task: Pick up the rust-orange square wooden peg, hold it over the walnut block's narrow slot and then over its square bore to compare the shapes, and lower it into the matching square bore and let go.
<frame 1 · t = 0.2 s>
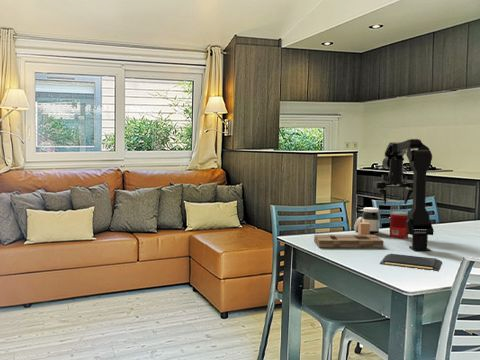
hand: (395, 204, 216), 14 cm above the table, tool pointing down, fingers open, 9 cm apart
canned food: (398, 237, 214), on the table
dark grey flat slab: (410, 265, 170), on the table
spread jar: (366, 232, 224), on the table
bore block: (347, 244, 198), on the table
square peg: (363, 238, 210), on the table
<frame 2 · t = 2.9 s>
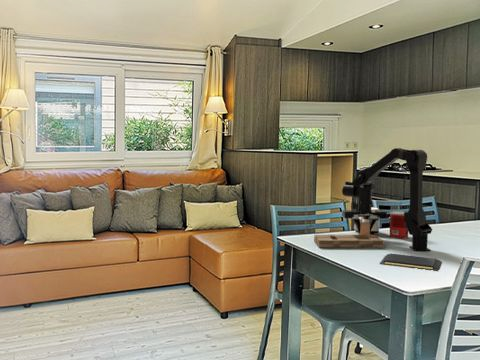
hand: (363, 233, 209), 2 cm above the table, tool pointing down, fingers closed on square peg, 4 cm apart
square peg: (363, 238, 210), on the table, touching gripper
everything else where it was.
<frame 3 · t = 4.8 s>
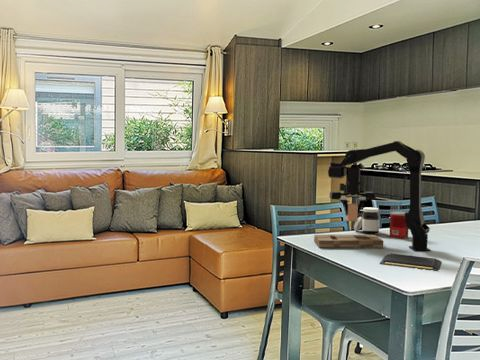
hand: (351, 215, 204), 11 cm above the table, tool pointing down, fingers closed on square peg, 4 cm apart
square peg: (351, 220, 204), point 9 cm above the table, touching gripper
everything else where it was.
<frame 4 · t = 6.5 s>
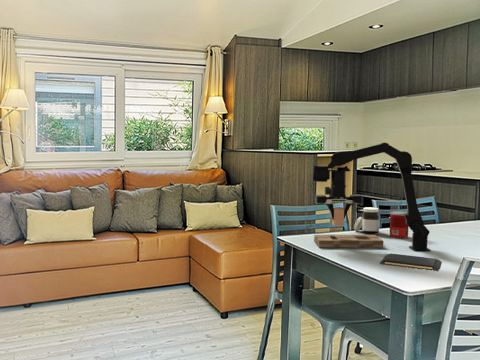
hand: (338, 219, 196), 11 cm above the table, tool pointing down, fingers closed on square peg, 4 cm apart
square peg: (337, 224, 197), point 8 cm above the table, touching gripper
everything else where it was.
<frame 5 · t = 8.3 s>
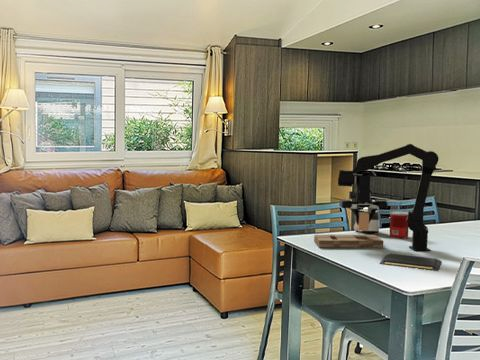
hand: (362, 224, 197), 9 cm above the table, tool pointing down, fingers closed on square peg, 4 cm apart
square peg: (362, 229, 197), point 6 cm above the table, touching gripper
everything else where it was.
when the fingers open (4 cm above the table, at t = 9.9 s): square peg drops 2 cm, resting on bore block.
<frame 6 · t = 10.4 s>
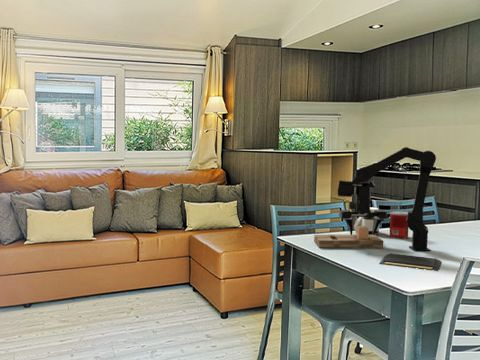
hand: (362, 234, 197), 4 cm above the table, tool pointing down, fingers open, 9 cm apart
square peg: (362, 243, 198), resting on bore block
everything else where it was.
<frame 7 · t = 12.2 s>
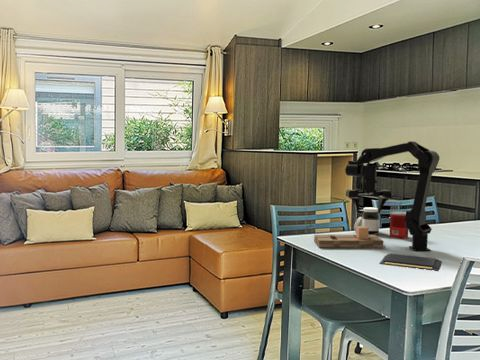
hand: (368, 213, 205), 12 cm above the table, tool pointing down, fingers open, 9 cm apart
nothing on the table moved.
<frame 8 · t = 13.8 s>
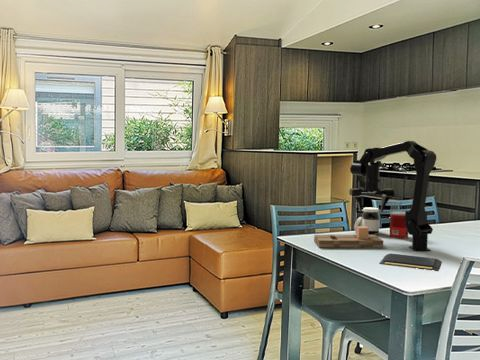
hand: (371, 211, 209), 12 cm above the table, tool pointing down, fingers open, 9 cm apart
nothing on the table moved.
at the end: square peg 0.1 cm from the target spot on the bore block, point 0.4 cm above the bore block's base; square peg tilted 0°; the gripper is holding nothing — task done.
